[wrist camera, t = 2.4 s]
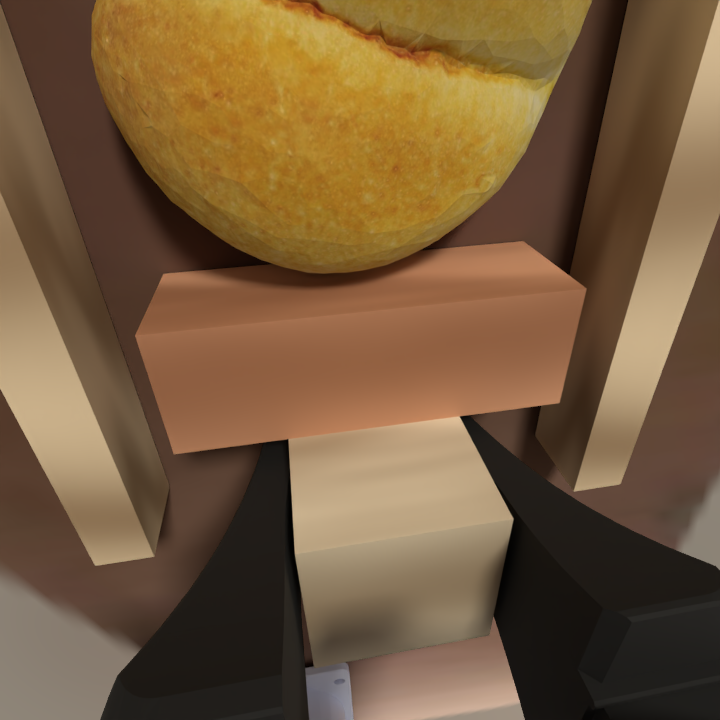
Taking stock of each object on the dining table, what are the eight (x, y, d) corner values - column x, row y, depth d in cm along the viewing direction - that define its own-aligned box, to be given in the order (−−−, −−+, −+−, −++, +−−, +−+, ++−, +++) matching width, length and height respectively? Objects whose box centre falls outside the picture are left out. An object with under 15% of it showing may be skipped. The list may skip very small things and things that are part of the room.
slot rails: (576, 430, 17) (620, 484, 15) (119, 493, 15) (95, 565, 13) (778, -311, 8) (958, -439, 6) (-257, -367, 6) (-518, -576, 4)
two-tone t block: (492, 443, 16) (591, 615, 11) (219, 481, 15) (197, 690, 10) (523, 240, 13) (692, 367, 8) (163, 274, 12) (84, 444, 7)
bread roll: (95, 183, 11) (14, 244, 7) (173, -474, 6) (72, -1032, 3) (428, 289, 13) (483, 370, 10) (631, -131, 9) (841, -237, 6)
